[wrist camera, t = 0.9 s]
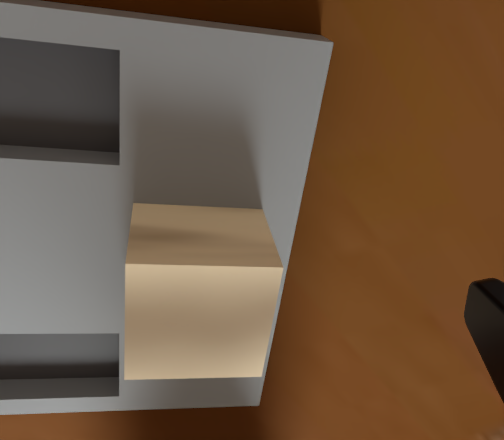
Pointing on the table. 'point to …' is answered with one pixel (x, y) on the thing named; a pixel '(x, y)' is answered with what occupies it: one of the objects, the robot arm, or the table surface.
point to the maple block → (198, 292)
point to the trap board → (132, 180)
